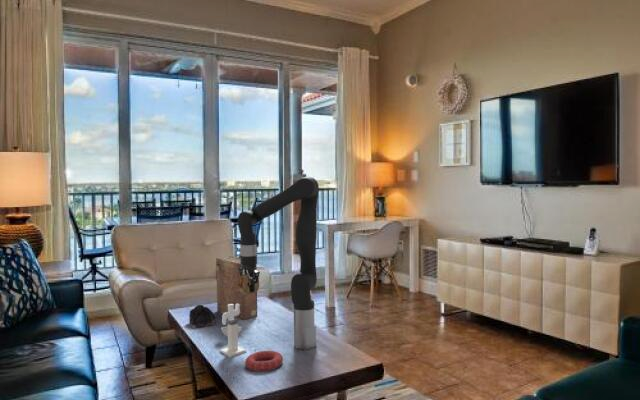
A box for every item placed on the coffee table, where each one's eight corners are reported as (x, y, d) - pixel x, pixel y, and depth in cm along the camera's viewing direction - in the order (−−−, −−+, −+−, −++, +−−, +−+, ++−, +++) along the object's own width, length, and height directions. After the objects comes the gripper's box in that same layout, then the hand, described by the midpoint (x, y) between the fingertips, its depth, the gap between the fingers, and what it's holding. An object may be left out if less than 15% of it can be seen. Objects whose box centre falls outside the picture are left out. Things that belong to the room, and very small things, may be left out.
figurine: (218, 335, 223) (218, 304, 222) (234, 330, 230) (234, 300, 229) (227, 339, 218) (227, 307, 217) (244, 334, 225) (243, 303, 224)
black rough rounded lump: (211, 329, 235) (213, 309, 235) (184, 327, 234) (186, 307, 235) (217, 323, 248) (218, 304, 248) (191, 321, 248) (192, 302, 248)
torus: (268, 354, 200) (268, 346, 199) (290, 364, 190) (290, 355, 190) (237, 365, 188) (237, 357, 188) (259, 376, 178) (259, 367, 178)
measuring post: (246, 352, 202) (245, 320, 201) (230, 357, 197) (229, 324, 196) (236, 347, 208) (235, 316, 207) (220, 351, 202) (219, 320, 202)
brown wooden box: (217, 310, 264) (215, 258, 262) (230, 307, 271) (229, 256, 269) (243, 320, 246) (242, 264, 244) (257, 316, 253) (256, 261, 251)
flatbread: (241, 297, 210) (240, 275, 209) (237, 296, 213) (236, 274, 212) (261, 293, 216) (260, 272, 216) (256, 292, 219) (256, 271, 219)
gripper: (264, 255, 211) (265, 292, 212) (246, 251, 221) (247, 287, 222) (250, 257, 206) (251, 295, 207) (233, 253, 216) (233, 290, 217)
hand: (249, 291), depth 214 cm, fingers closed on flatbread, 3 cm apart
